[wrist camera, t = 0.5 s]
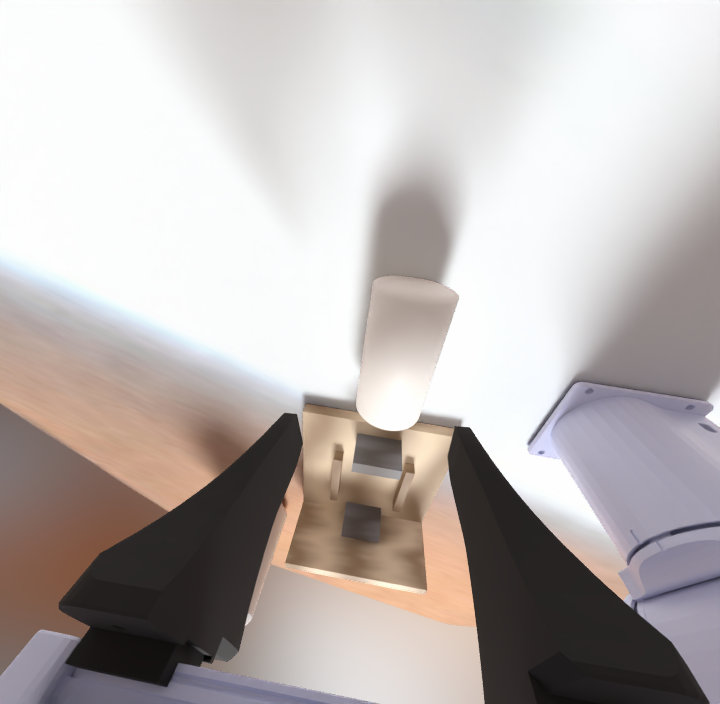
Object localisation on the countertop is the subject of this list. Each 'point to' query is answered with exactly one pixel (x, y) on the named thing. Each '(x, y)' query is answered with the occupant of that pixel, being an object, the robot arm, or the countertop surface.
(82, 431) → the countertop surface
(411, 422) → the cylinder
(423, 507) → the roll holder
